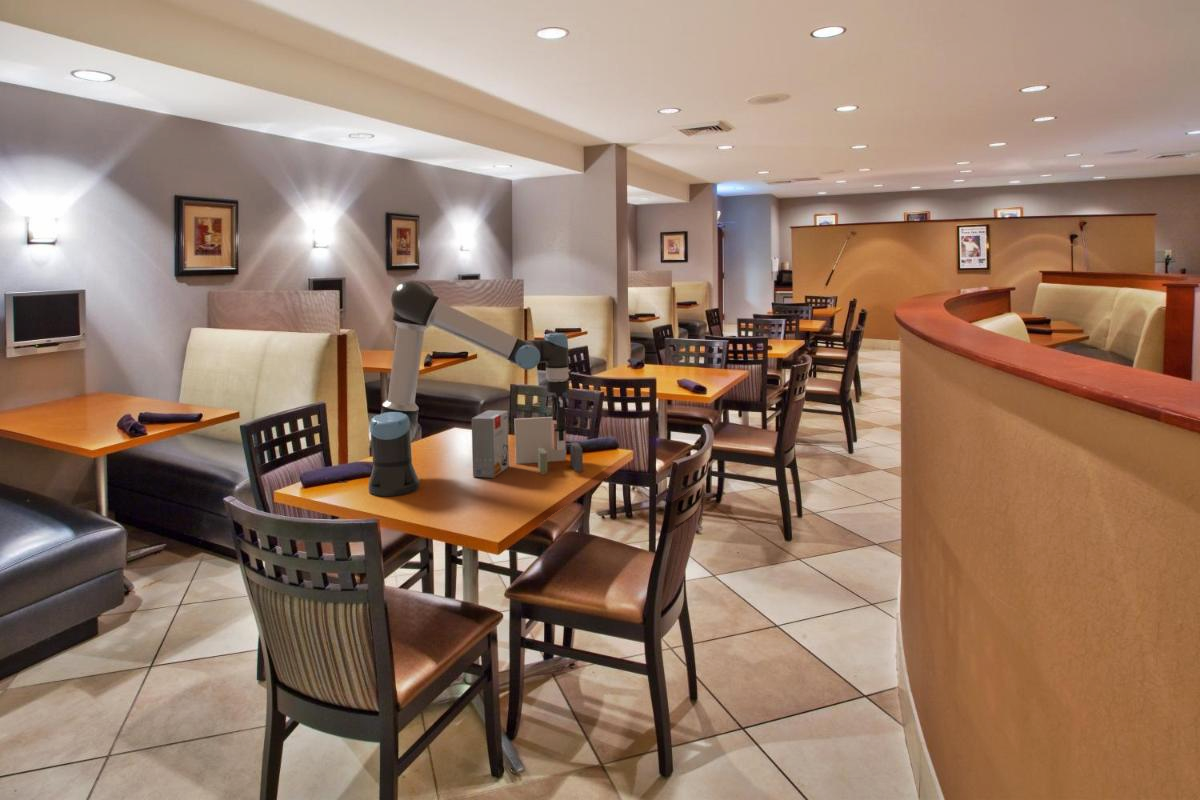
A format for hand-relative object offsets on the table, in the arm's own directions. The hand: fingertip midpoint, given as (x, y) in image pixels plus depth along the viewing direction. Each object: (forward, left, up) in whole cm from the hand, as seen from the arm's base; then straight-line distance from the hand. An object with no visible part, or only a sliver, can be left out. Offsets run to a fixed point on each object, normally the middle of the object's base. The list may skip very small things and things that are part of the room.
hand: (559, 447), depth 239 cm
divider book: (-6, +1, -8) cm, 10 cm away
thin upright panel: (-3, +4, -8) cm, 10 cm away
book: (0, 0, 0) cm, 0 cm away
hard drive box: (-23, +4, -8) cm, 25 cm away
